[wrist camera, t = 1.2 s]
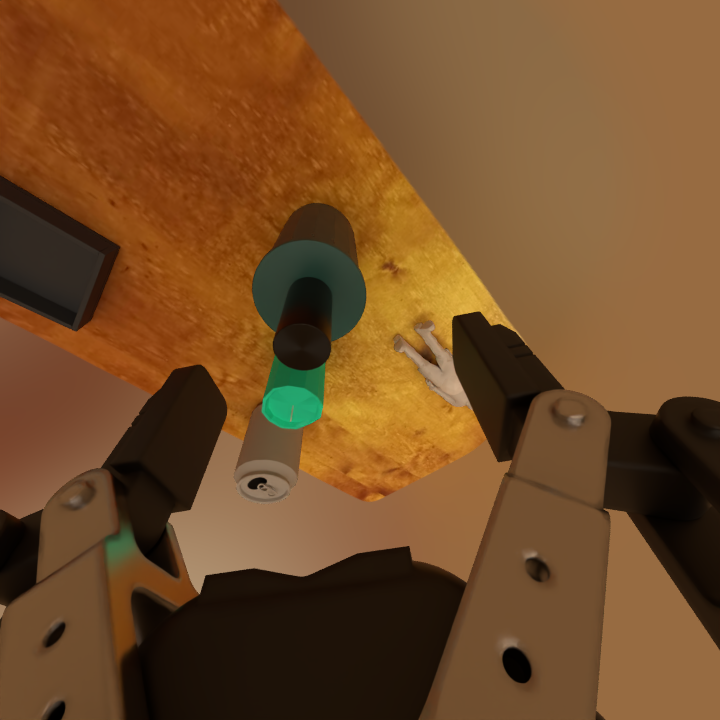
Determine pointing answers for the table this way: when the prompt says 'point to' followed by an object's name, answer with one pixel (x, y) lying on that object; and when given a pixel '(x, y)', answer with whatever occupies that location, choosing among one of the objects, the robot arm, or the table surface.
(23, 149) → the table surface
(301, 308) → the pan lid
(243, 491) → the can
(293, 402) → the candle
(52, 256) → the square tray
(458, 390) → the figurine
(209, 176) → the table surface
